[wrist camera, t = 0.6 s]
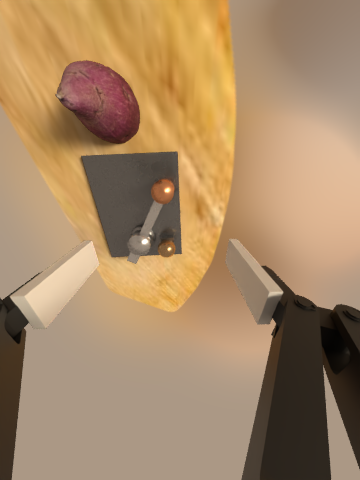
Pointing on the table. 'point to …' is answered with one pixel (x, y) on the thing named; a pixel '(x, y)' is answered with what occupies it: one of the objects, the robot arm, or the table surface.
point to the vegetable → (100, 100)
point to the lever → (150, 219)
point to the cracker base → (135, 199)
